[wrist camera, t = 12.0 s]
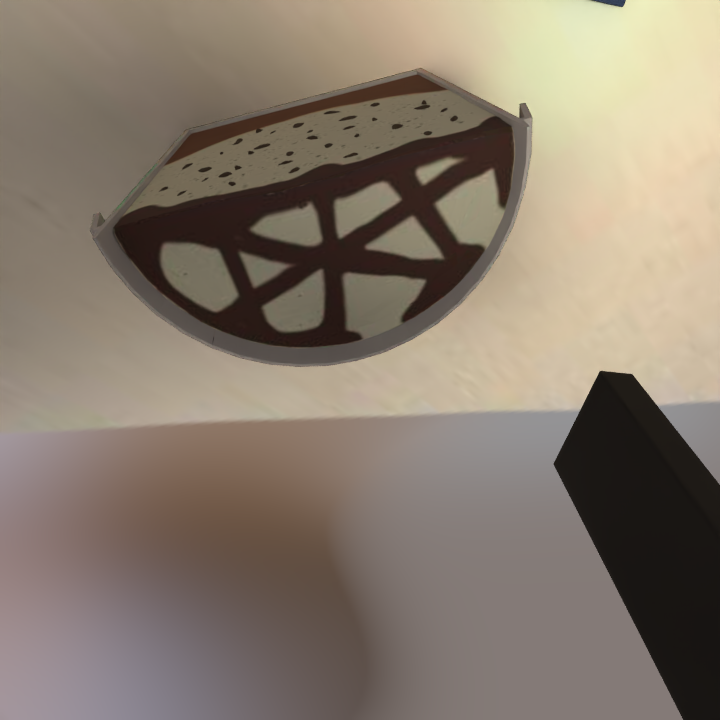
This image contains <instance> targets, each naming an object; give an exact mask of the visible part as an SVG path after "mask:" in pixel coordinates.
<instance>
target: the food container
mask: <svg viewBox="0 0 720 720" xmlns="http://www.w3.org/2000/svg"><path fill="white" fill-rule="evenodd" d="M531 147H532V116H531V114H530V112H529V109H528V107H527V105H526V103H523V104H520V115H519V118H518V117H516V116H514V115H512V114H510V113H508V112H506V111H504V110H502V109H500V108H498V107H496V106H495V105H493V104H491V103H489V102H487V101H485V100H483V99H481V98H479V97H477V96H475V95H473V94H471V93H469V92H467V91H465V90H463V89H461V88H459V87H457V86H455V85H453V84H451V83H449V82H447V81H445V80H443V79H441V78H439V77H437V76H435V75H433V74H432V73H430V72H428V71H426V70H424V69H422V68H419V69H416V70H412V71H408V72H404V73H400V74H397V75H393V76H389V77H385V78H381V79H377V80H374V81H370V82H366V83H362V84H358V85H355V86H351V87H347V88H343V89H339V90H336V91H332V92H328V93H324V94H320V95H317V96H313V97H309V98H305V99H301V100H298V101H294V102H290V103H286V104H282V105H279V106H275V107H271V108H267V109H263V110H260V111H256V112H252V113H248V114H244V115H241V116H237V117H233V118H229V119H225V120H222V121H218V122H214V123H210V124H206V125H203V126H199V127H195V128H191V129H187V130H185V131H184V133H183V134H182V135H181V136H180V137H179V138H178V139H177V141H176V142H175V143H174V144H173V145H172V146H171V147H170V148H169V150H168V151H167V152H166V153H165V154H164V155H163V156H162V157H161V159H160V160H159V161H158V162H157V163H156V164H155V165H154V167H153V168H152V169H151V170H150V171H149V172H148V173H147V174H146V176H145V177H144V178H143V179H142V180H141V181H140V182H139V184H138V185H137V186H136V187H135V188H134V189H133V190H132V191H131V193H130V194H129V195H128V196H127V197H126V198H125V199H124V200H123V202H122V203H121V204H120V205H119V206H118V207H117V208H116V210H115V211H114V212H113V213H112V214H111V215H110V216H109V217H108V219H107V220H106V221H105V220H104V219H103V217H102V215H101V214H100V212H99V213H96V214H94V216H93V220H92V224H91V228H90V232H91V233H92V235H93V240H94V241H95V243H96V244H97V246H98V248H99V249H100V251H101V252H102V254H103V256H104V257H105V259H106V260H107V262H108V264H109V265H110V267H111V268H112V269H113V270H114V271H115V273H116V274H117V275H118V276H119V278H120V279H121V280H122V281H123V282H124V284H125V285H126V286H127V287H128V288H129V290H130V291H131V292H132V293H133V294H134V295H135V296H136V297H137V298H139V299H140V300H141V301H142V302H143V303H144V304H145V305H146V306H147V307H148V308H149V309H151V310H152V311H153V312H154V313H155V314H156V315H157V316H159V317H160V318H162V319H163V320H165V321H166V322H167V323H169V324H170V325H172V326H173V327H175V328H176V329H178V330H179V331H180V332H182V333H183V334H185V335H187V336H189V337H191V338H193V339H195V340H197V341H199V342H201V343H203V344H205V345H207V346H209V347H211V348H214V349H216V350H219V351H222V352H225V353H228V354H230V355H233V356H236V357H239V358H243V359H247V360H252V361H256V362H261V363H266V364H272V365H283V366H295V367H308V366H329V365H335V364H341V363H346V362H352V361H358V360H361V359H364V358H367V357H371V356H374V355H377V354H380V353H383V352H386V351H388V350H391V349H393V348H395V347H397V346H399V345H401V344H404V343H406V342H408V341H410V340H412V339H414V338H415V337H417V336H419V335H420V334H422V333H423V332H425V331H426V330H428V329H430V328H431V327H433V326H434V325H436V324H437V323H439V322H440V321H441V320H442V319H443V318H445V317H446V316H447V315H448V314H449V313H451V312H452V311H453V310H454V309H455V308H457V307H458V306H459V305H460V304H461V303H462V302H463V301H464V300H465V299H466V298H467V296H468V295H469V294H470V293H471V292H472V291H473V290H474V289H475V288H476V287H477V285H478V284H479V283H480V282H481V281H482V279H483V278H484V276H485V275H486V274H487V272H488V271H489V269H490V268H491V266H492V265H493V263H494V262H495V260H496V259H497V257H498V256H499V254H500V252H501V250H502V248H503V246H504V244H505V242H506V240H507V238H508V236H509V234H510V232H511V230H512V228H513V225H514V222H515V219H516V216H517V213H518V210H519V207H520V204H521V201H522V198H523V195H524V190H525V187H526V181H527V175H528V169H529V164H530V158H531Z"/></svg>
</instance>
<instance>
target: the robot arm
mask: <svg viewBox="0 0 720 720" xmlns="http://www.w3.org/2000/svg"><path fill="white" fill-rule="evenodd" d="M554 466H555V468H556V470H557V472H558V474H559V476H560V478H561V479H562V482H563V484H564V486H565V488H566V490H567V491H568V493H569V496H570V497H571V499H572V501H573V503H574V505H575V507H576V509H577V511H578V513H579V515H580V517H581V519H582V521H583V523H584V525H585V527H586V529H587V531H588V533H589V535H590V537H591V539H592V541H593V543H594V545H595V547H596V549H597V551H598V553H599V555H600V557H601V559H602V561H603V563H604V564H605V566H606V568H607V570H608V572H609V574H610V576H611V578H612V580H613V582H614V584H615V586H616V588H617V590H618V592H619V594H620V596H621V598H622V600H623V602H624V604H625V606H626V608H627V610H628V612H629V614H630V616H631V618H632V620H633V622H634V624H635V626H636V627H637V629H638V631H639V633H640V635H641V637H642V639H643V641H644V643H645V645H646V647H647V649H648V651H649V653H650V655H651V657H652V659H653V661H654V663H655V665H656V667H657V669H658V671H659V673H660V675H661V677H662V679H663V681H664V683H665V685H666V686H667V689H668V691H669V692H670V694H671V696H672V698H673V700H674V702H675V704H676V706H677V708H678V710H679V712H680V714H681V716H682V718H683V720H720V485H719V483H718V482H717V481H716V480H715V478H714V477H713V476H712V475H711V473H710V472H709V471H708V469H707V468H706V467H705V466H704V464H703V463H702V462H701V461H700V459H699V458H698V457H697V456H696V454H695V453H694V452H693V451H692V449H691V448H690V447H689V445H688V444H687V443H686V442H685V440H684V439H683V438H682V437H681V435H680V434H679V433H678V432H677V431H676V429H675V428H674V426H673V425H672V424H671V423H670V422H669V420H668V419H667V418H666V416H665V415H664V414H663V413H662V411H661V410H660V409H659V407H658V406H657V405H656V404H655V402H654V401H653V400H652V399H651V397H650V396H649V395H648V394H647V392H646V391H645V390H644V389H643V387H642V386H641V385H640V383H639V382H638V381H637V380H636V378H635V377H634V376H633V375H632V374H625V373H616V372H606V371H600V372H599V374H598V376H597V378H596V380H595V382H594V384H593V386H592V388H591V390H590V392H589V394H588V396H587V398H586V400H585V402H584V404H583V406H582V408H581V410H580V412H579V414H578V416H577V418H576V420H575V422H574V424H573V426H572V428H571V430H570V432H569V435H568V436H567V438H566V440H565V442H564V444H563V446H562V448H561V450H560V452H559V454H558V456H557V458H556V460H555V462H554Z"/></svg>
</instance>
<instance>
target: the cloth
mask: <svg viewBox="0 0 720 720" xmlns="http://www.w3.org/2000/svg"><path fill="white" fill-rule="evenodd" d="M593 1H598V2H602V3H606V4H611V5H615V6H620V7H623V6H624V3H625V1H626V0H593Z"/></svg>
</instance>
